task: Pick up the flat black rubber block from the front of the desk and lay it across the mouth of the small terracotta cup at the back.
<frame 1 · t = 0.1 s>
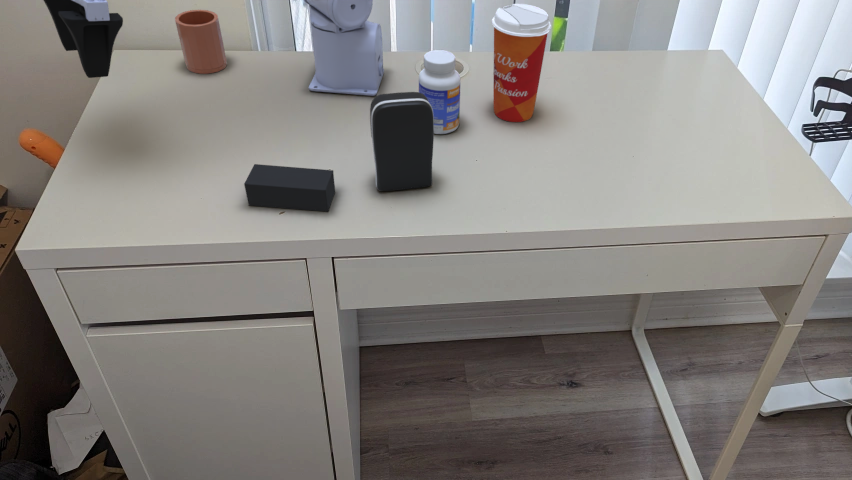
hand: (86, 62, 82), 11 cm above the table, tool pointing down, fingers open, 7 cm apart
paper cup: (513, 113, 102), on the table
battery charger: (402, 183, 87), on the table
black block: (292, 198, 83), on the table
pill bottle: (439, 126, 98), on the table
terracotta cup: (206, 64, 105), on the table
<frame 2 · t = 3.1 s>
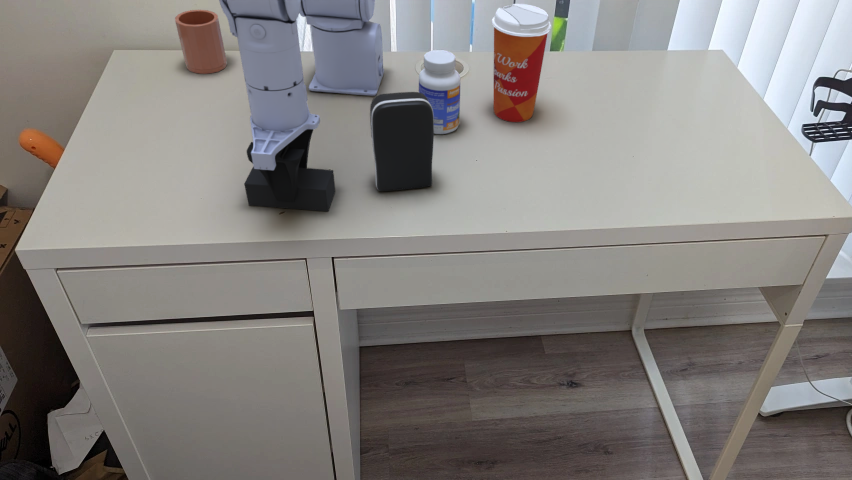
hand: (291, 188, 82), 1 cm above the table, tool pointing down, fingers closed on black block, 4 cm apart
black block: (292, 198, 83), on the table, touching gripper
everything else where it was.
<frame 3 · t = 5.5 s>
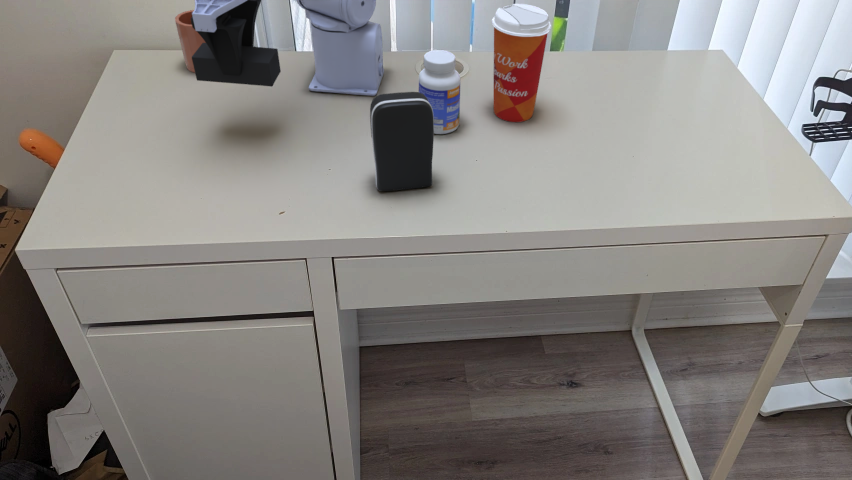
hand: (237, 65, 87), 9 cm above the table, tool pointing down, fingers closed on black block, 4 cm apart
black block: (239, 76, 88), point 8 cm above the table, touching gripper
everything else where it was.
when the fingers open (8 cm above the table, at t = 7.9 s): black block stays where it is, resting on terracotta cup.
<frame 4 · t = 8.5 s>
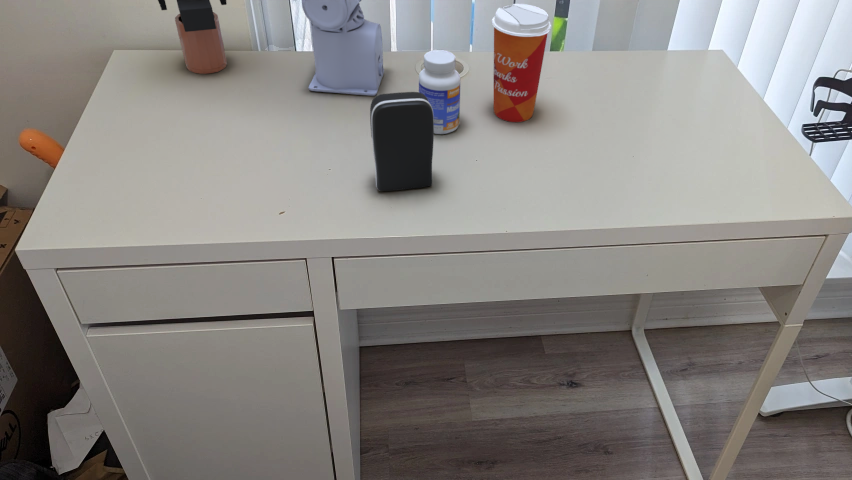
hand: (193, 4, 99), 9 cm above the table, tool pointing down, fingers open, 7 cm apart
black block: (196, 17, 100), point 7 cm above the table, touching terracotta cup
terracotta cup: (206, 64, 105), on the table, touching black block
everything else where it was.
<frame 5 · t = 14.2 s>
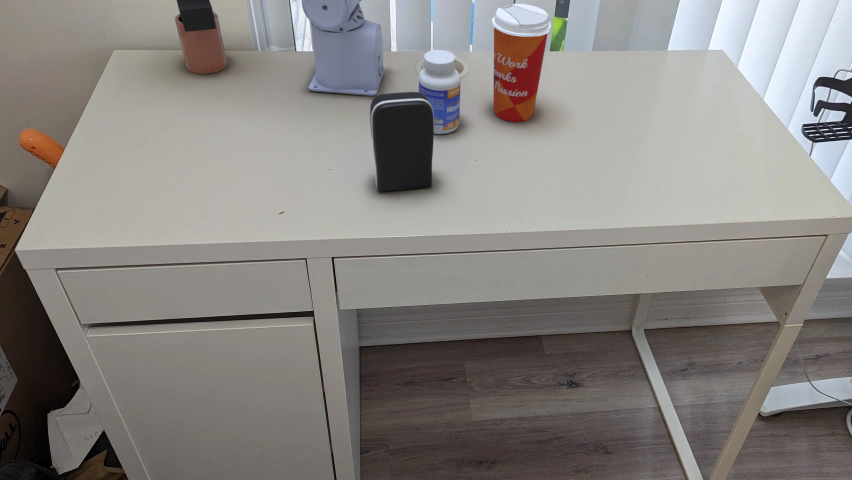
nothing on the table moved.
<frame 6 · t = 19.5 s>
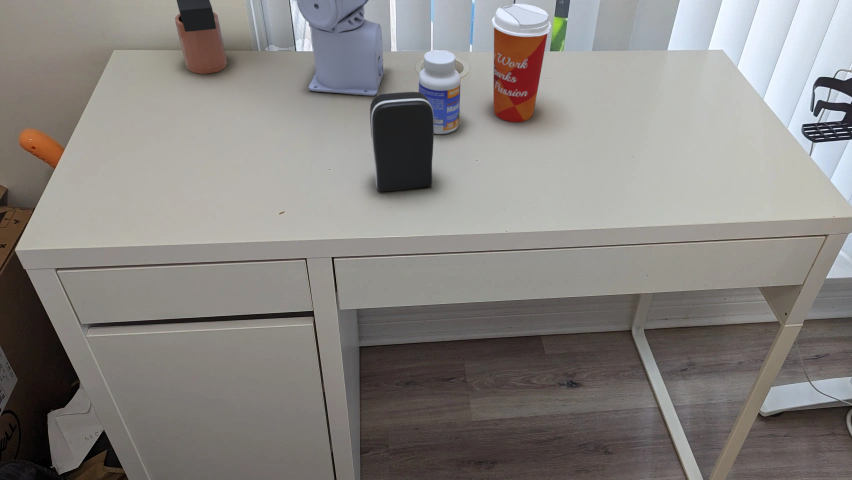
nothing on the table moved.
at the end: black block 0.1 cm off-centre on the terracotta cup, point 7.0 cm above the terracotta cup's base; black block tilted 0°; the gripper is holding nothing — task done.
